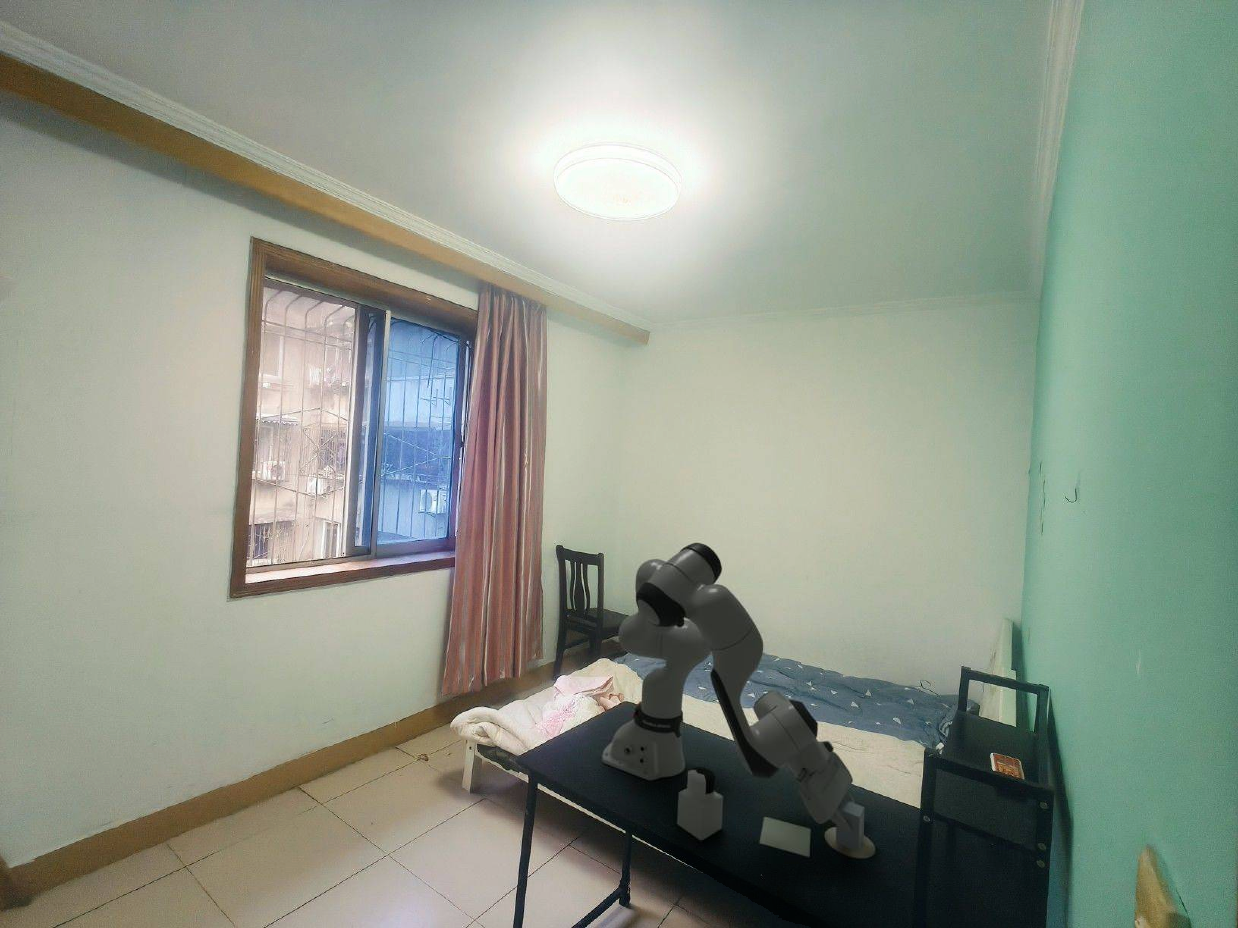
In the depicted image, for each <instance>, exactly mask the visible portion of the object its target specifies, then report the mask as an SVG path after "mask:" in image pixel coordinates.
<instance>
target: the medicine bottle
mask: <svg viewBox="0 0 1238 928" xmlns="http://www.w3.org/2000/svg"><path fill="white" fill-rule="evenodd" d="M686 785H687V788H685V789H683V790H680V791H679V792H678V795H677V796H678V799H677V801H678V802H677V818H676V819H677V820H676V821H677V823H676V824H677V825H678V827H680V828H682V829H683V830H685V831H686V832H687V833H689V834H690V833H691V835H692V836H693V837H695V838H696V839H697V840H699V841H703V840H705V839H707V838H709V837H710V836H711V835H714V834H715V833H717V832H719V831H720V830H721V829H722V828H723V827H722V826H723V803H724V801H723V799H724V796H722V794H719V793H718V792H716V791H715V790H716V775H715V773H714V771H712V770H711V769H709V768H706V767H702V766H695V767H692V768H690V769H689V770H688V772H687V784H686Z"/></svg>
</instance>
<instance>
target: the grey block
mask: <svg viewBox="0 0 1238 928" xmlns="http://www.w3.org/2000/svg"><path fill="white" fill-rule="evenodd" d="M837 809H838V811H839V812H840V816H842V817H843V818H844V819H845V820H848V821H849V823H850V824H851V826H852V829H851V831H850V832H849V833H847V834H844V833H843V831H842V830H841V828H840V827H839V826H838V825H836V824H835V825H836V826H835V827H836V843H838V844H840V845H843V846H845V847H847V848H850V849H852V850H854V851H857V852H859V850H860V848H861V845H862V843H863V837H864V836H865V834H864V833H865V832H864V830H865V807H864V806H861V805H859V804H857V803H855V804H854V803H852V802H849V801H846V800H844V799H842V801H841V803H840V804H839V806H838V808H837Z"/></svg>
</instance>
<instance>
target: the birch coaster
mask: <svg viewBox="0 0 1238 928" xmlns="http://www.w3.org/2000/svg"><path fill="white" fill-rule="evenodd" d="M824 838H825V841H826V842H827V844H828V845H829V846H830V847H831V848H832V849H834V850H836V851H837V852H839V853H840V854H843V855H845V856H847V857H850V858H855V859H868V858H870V857H873V856H874V855H875V853H876V848H875V844H874V843H873V842H872V840H871V839H869V838H868V837H867V836H866V835H864V837H863V843H862V845H861V848H860V850H859V852H857V851H854V850H852V849H850V848H847V847H845V846H843V845H840V844H838V843H836V826H834V827H830V828H828V829H827V830H826V831H825V832H824Z"/></svg>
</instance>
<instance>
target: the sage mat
mask: <svg viewBox="0 0 1238 928" xmlns="http://www.w3.org/2000/svg"><path fill="white" fill-rule="evenodd" d="M759 844H761V845H765V846H769V847H771V848H776V849H779V850H782V851H786V852H790V853H793V854H798V855H799V856H804V857H807V858H810V851H811V850H810V847H811V828H809V827H804V826H801V825H797V824H793V823H790V822H785V821H782V820H779V819H775V818H771V817H766V816H764V817H763V821H762V829H761V832H760V838H759Z"/></svg>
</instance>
